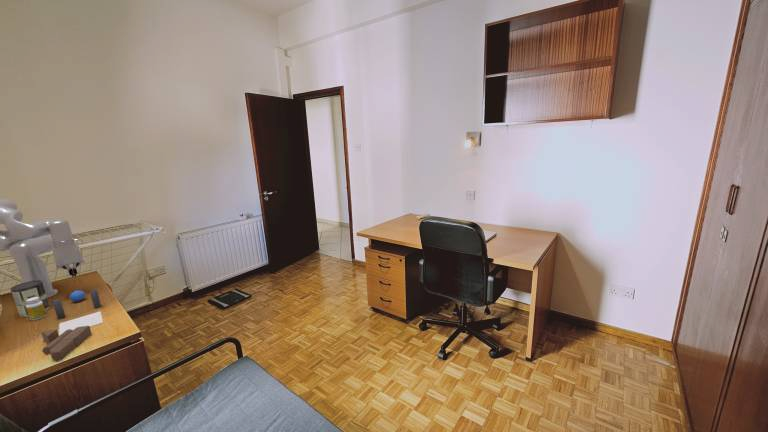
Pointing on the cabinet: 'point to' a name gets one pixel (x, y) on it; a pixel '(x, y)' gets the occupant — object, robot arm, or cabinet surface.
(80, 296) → the ball
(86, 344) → the cabinet surface
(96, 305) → the post
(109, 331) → the cabinet surface
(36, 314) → the supplement bottle
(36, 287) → the coffee can
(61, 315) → the post
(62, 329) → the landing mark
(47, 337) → the wooden block set
